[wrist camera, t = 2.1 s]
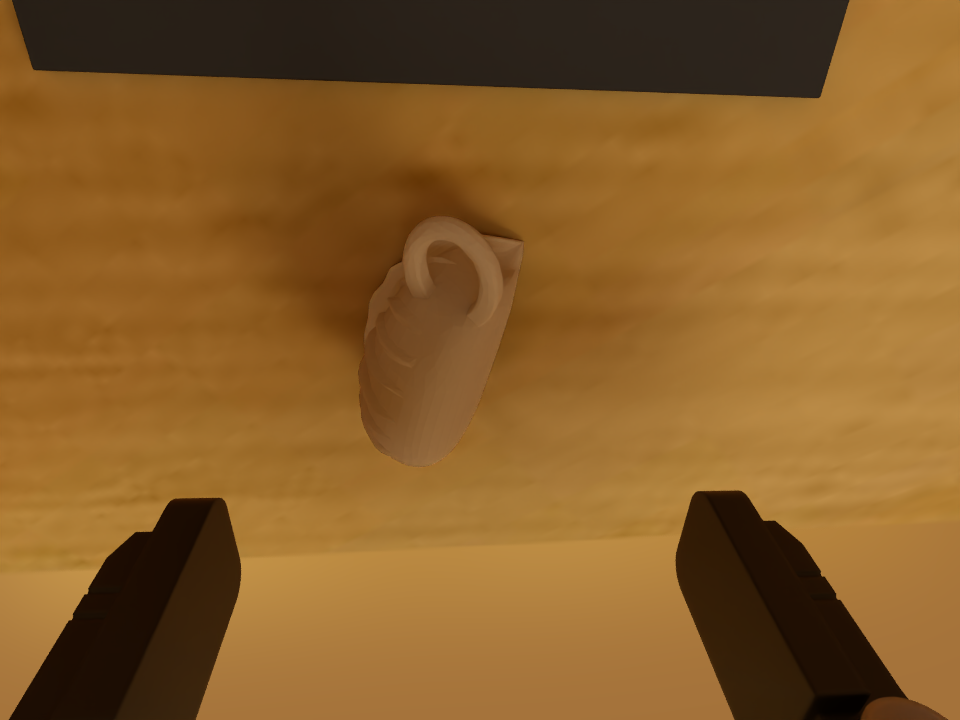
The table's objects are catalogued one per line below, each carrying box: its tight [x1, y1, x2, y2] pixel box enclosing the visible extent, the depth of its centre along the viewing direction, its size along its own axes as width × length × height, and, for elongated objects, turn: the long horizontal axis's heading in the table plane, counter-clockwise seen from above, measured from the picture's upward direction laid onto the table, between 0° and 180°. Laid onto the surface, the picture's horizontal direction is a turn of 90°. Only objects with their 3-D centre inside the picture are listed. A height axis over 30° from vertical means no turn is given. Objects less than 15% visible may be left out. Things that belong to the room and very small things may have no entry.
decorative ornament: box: [358, 216, 524, 467], centre depth 16 cm, size 4×8×5 cm, turn 161°
